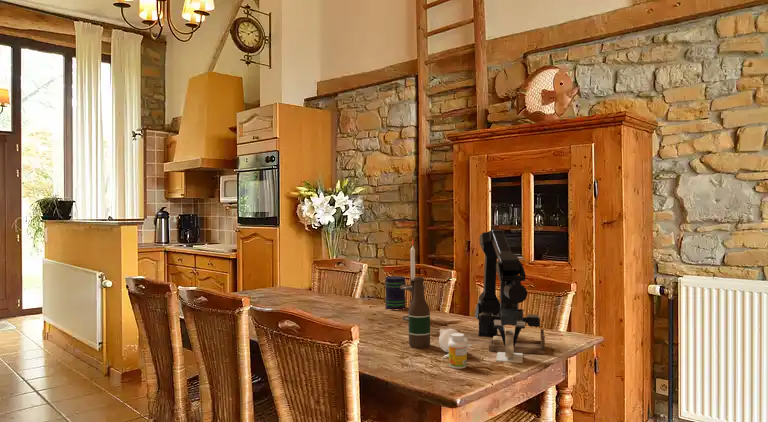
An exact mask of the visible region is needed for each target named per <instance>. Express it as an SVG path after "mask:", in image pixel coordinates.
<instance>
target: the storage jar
mask: <svg viewBox="0 0 768 422" xmlns="http://www.w3.org/2000/svg"><path fill="white" fill-rule="evenodd" d="M384 279H385V281H384V289H385V298H384V303H385V308H386V309H385V310H387V309H403V308H406V305H407V304H406V302H407V301H406V300H407V298H406V290H403V289H401V288H400V286H401V285H407V283H406V276H402V275H401V276H400V275H398V276H397V275H391V276H390V275H389V276H385V278H384Z"/></svg>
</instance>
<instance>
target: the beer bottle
mask: <svg viewBox="0 0 768 422" xmlns="http://www.w3.org/2000/svg"><path fill="white" fill-rule="evenodd" d="M424 281H425V279H424V277H423V276H415V277H414V297H413V301H412V302H411V304H410V303H409V304H410V305H409V307H408V314H407V316H409V321H408V345H409V347H410V348H414V349H426V348H430V346H431V311H430V306H429V305H428V302H427V301H426V298H425V289H424Z"/></svg>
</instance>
